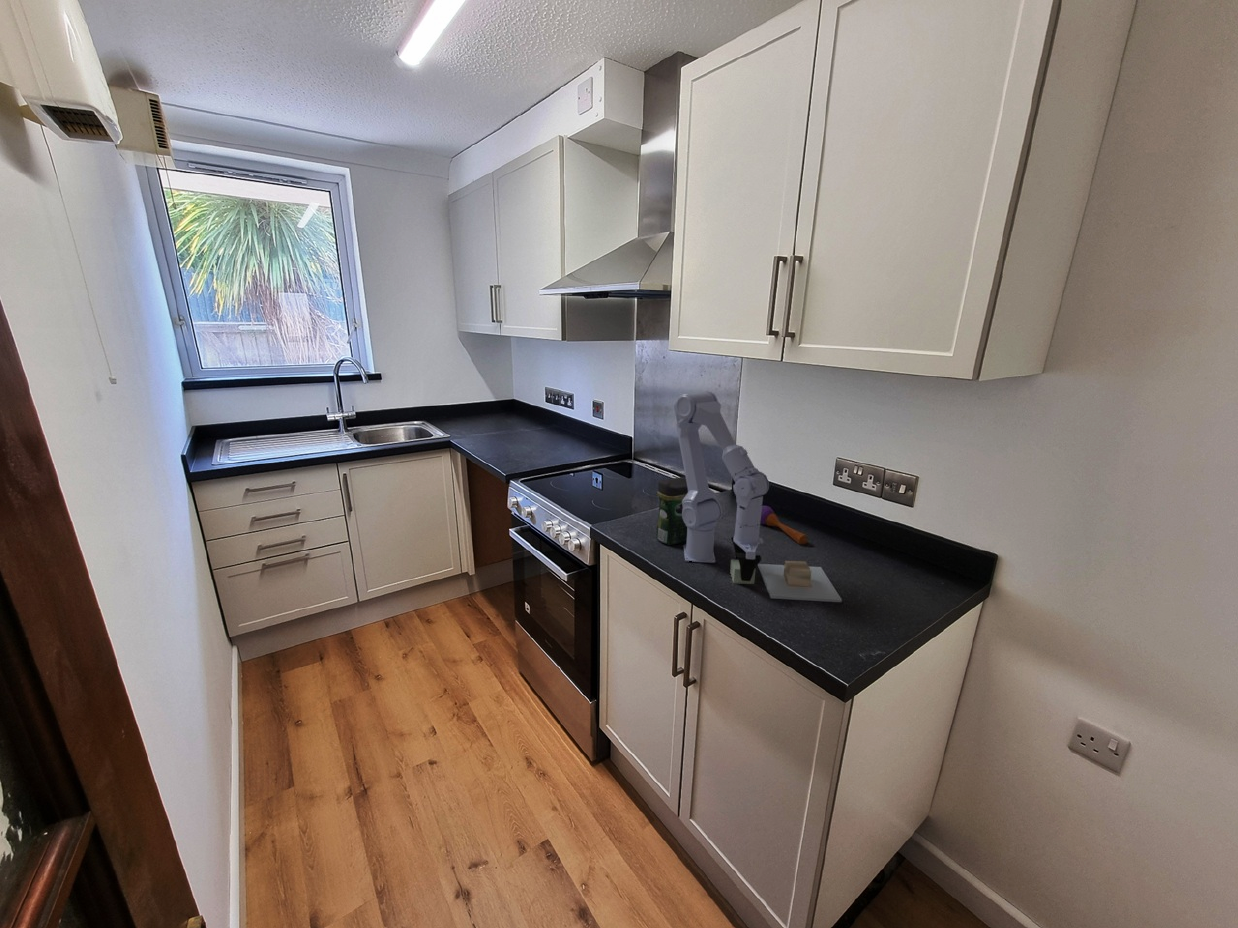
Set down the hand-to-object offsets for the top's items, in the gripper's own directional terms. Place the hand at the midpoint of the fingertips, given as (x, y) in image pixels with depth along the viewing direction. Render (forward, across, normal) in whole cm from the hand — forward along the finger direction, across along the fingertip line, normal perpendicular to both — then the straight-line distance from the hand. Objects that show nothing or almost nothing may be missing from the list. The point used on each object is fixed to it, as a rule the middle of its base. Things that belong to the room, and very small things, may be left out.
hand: (743, 572), depth 126 cm
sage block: (+2, 0, 0) cm, 2 cm away
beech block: (+1, -1, -13) cm, 13 cm away
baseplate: (+2, -1, -13) cm, 13 cm away
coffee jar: (+2, +21, +17) cm, 27 cm away
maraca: (+2, +31, -15) cm, 34 cm away
